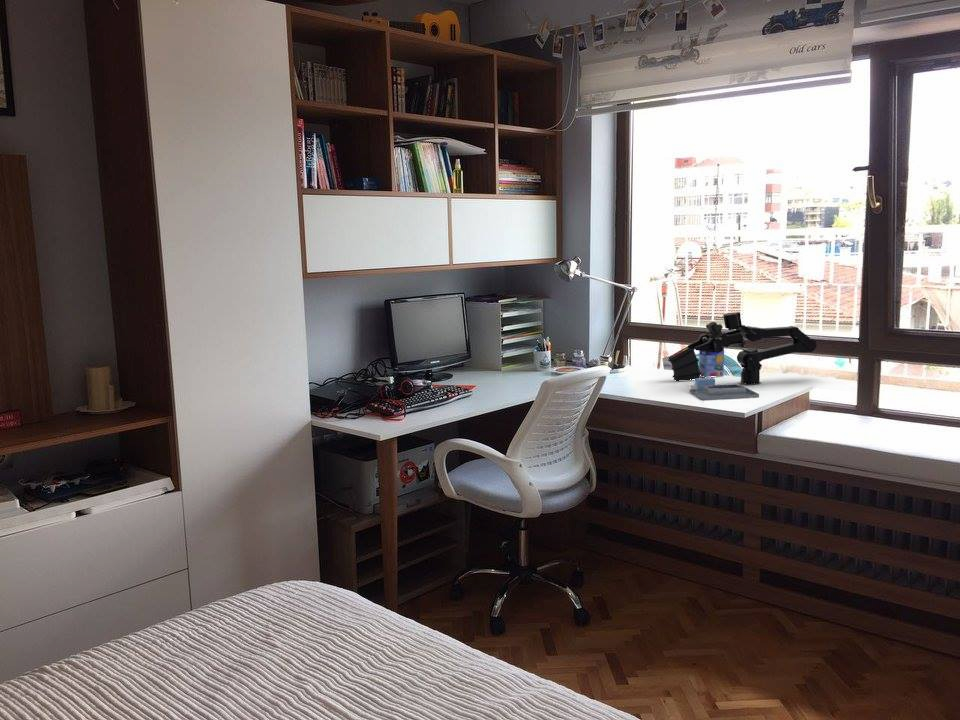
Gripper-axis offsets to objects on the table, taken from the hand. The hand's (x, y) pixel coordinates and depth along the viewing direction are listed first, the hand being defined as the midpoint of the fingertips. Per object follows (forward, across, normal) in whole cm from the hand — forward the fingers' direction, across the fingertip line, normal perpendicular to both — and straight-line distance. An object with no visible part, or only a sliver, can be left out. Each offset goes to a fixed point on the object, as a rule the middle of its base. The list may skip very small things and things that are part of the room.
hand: (691, 347), depth 334 cm
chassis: (-3, +18, +18) cm, 26 cm away
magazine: (+1, -16, +16) cm, 22 cm away
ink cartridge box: (-13, -21, +18) cm, 31 cm away
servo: (0, +6, +17) cm, 18 cm away
